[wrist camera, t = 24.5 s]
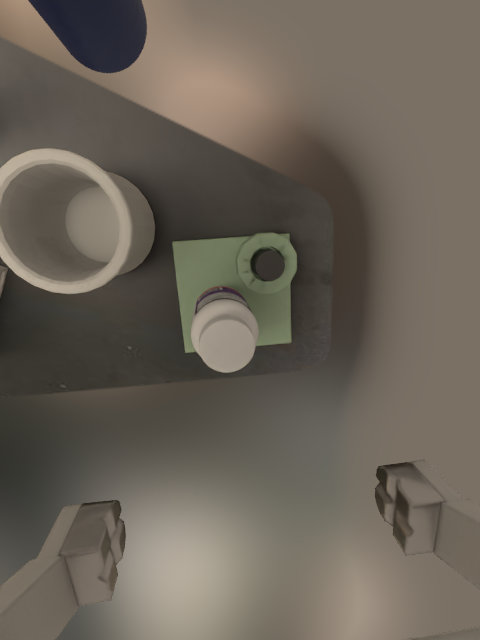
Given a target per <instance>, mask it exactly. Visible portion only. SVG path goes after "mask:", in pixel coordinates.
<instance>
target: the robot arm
mask: <svg viewBox="0 0 480 640" xmlns="http://www.w3.org/2000/svg"><path fill="white" fill-rule="evenodd" d="M376 476H377V478H378V480H379V481H380V483H379V484H378V485H377V486H376V488H375V498H376V503H377V506H378V509H379V512H380V514H381V515H382V517H383V518H384V521H386V522H387V523H389V524H390V525H392V526H393V535H394V537H395V539H396V540H397V542H398V544H399V545H400V547H401V548H402V550H403V552H404V553H405V555H415V554H423V553H432V552H434V554H435V555H436V556H438V557H439V558H440V559H441V560H443V561H444V562H445V563H447V564H448V565H449V566H450V567H452V568H453V569H454V570H455V571H457V572H458V573H459V574H461V575H462V576H463V577H464V578H466V579H467V580H468V581H470V582H471V583H472V584H473V585H475V586H476V587H477V588H479V589H480V504H478V503H476V502H474V501H472V500H470V499H463V498H462V497H461V496H460V495H459V494H458V493H457V492H456V491H455V490H454V489H453V488H452V487H451V486H450V485H449V483H448V482H447V481H446V480H445V479H444V478H443V477H442V476H441V475H440V474H439V473H438V472H437V471H436V470H435V469H434V468H433V467H432V466H431V465H430V464H429V463H428V462H427V461H425V460H419V461H412V462H405V463H398V464H391V465H384V466H379V467H378V469H377V473H376ZM120 513H121V506H120V503H119V501H117V500H112V501H102V502H93V503H84V504H77V505H67V506H65V507H64V508H63V509H62V510H61V512H60V514H59V516H58V518H57V520H56V522H55V524H54V526H53V528H52V530H51V531H50V533H49V535H48V537H47V539H46V541H45V543H44V545H43V547H42V549H41V551H40V553H39V555H38V557H37V559H34V560H30V561H29V562H28V563H27V564H26V565H24V566H23V567H22V568H21V569H20V570H19V571H18V572H17V573H15V574H14V575H13V576H12V577H11V578H10V579H9V580H7V581H6V582H5V583H4V584H3V585H2V586H1V587H0V640H55V639H56V638H57V637H58V635H59V634H60V633H61V631H62V630H63V629H64V627H65V626H66V625H67V623H68V622H69V621H70V619H71V618H72V616H73V615H74V614H75V613H76V611H77V610H78V606H83V605H88V604H93V603H99V602H104V601H110V600H111V599H112V595H113V591H114V587H115V584H116V580H117V576H118V573H117V568H116V565H117V563H118V562H119V561H120V560H121V559H122V556H123V552H124V548H125V538H126V536H125V535H126V534H125V525H124V521H122V520H121V519H120V518H119V516H120ZM405 640H480V626H479V627H474V628H467V629H462V630H456V631H451V632H444V633H439V634H434V635H427V636H422V637H416V638H410V639H405Z"/></svg>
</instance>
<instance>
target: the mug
mask: <svg viewBox="0 0 480 640" xmlns="http://www.w3.org/2000/svg"><path fill="white" fill-rule="evenodd" d="M154 236H155V222H154V217H153V212H152V210H151V208H150V206H149V204H148V201H147V199H146V198H145V197H144V196H143V194H142V193H141V192H140V191H139V189H138V188H137V187H136V186H134V185H133V184H132V183H131V182H129V181H128V180H127V179H125V178H123V177H121V176H119V175H116V174H114V173H111V172H106V171H104V170H102V169H101V168H100V167H99V166H97V165H96V164H95V163H94V162H92V161H91V160H89V159H86V158H84V157H82V156H80V155H78V154H75V153H73V152H70V151H64V150H58V149H53V148H46V149H36V150H29V151H27V152H25V153H22V154H20V155H18V156H15V157H13V158H12V159H10V160H9V161H8V162H7V163H6V164H5V165H4V166H2V167H1V168H0V257H1V258H2V260H3V261H4V262H5V263H6V264H7V265H8V266H9V267H10V268H11V269H12V270H13V271H14V272H15V273H16V274H17V275H18V276H20V277H21V278H23V279H24V280H26V281H27V282H29V283H30V284H32V285H34V286H36V287H39V288H42V289H45V290H47V291H50V292H55V293H64V294H76V293H84V292H89V291H91V290H94V289H96V288H99V287H101V286H103V285H105V284H106V283H107V282H109V281H110V280H111V279H113V278H114V277H115V276H117V275H122V274H124V273H127V272H129V271H131V270H133V269H135V268H136V267H137V266H138V265H140V264H141V263H142V262H143V261H144V260H145V258H146V257H147V255H148V254H149V253H150V250H151V248H152V245H153V242H154Z"/></svg>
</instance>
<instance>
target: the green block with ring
mask: <svg viewBox="0 0 480 640" xmlns="http://www.w3.org/2000/svg"><path fill="white" fill-rule="evenodd" d="M172 247H173V255H174V263H175V272H176V280H177V288H178V297H179V305H180V313H181V321H182V330H183V338H184V346H185V353H188V352H197V351H196V350H195V348H194V346H193V344H192V340H191V325H192V318H193V311H194V306H195V303H196V301H197V299H198V298H199V296H200V295H201V294H202V293H203V292H204V291H206V290H207V289H209V288H212V287H215V286H227V287H231V288H233V289H235V290H237V291H238V292H239V293H240V294H241V295H242V296H243V297H244V299H245V300H246V302H247V304H248V306H249V308H250V309H251V311H252V313H253V315H254V316H255V319H256V321H257V324H258V330H259V333H258V340H257V343H256V346H262V345H272V344H283V343H291V294H290V282H291V280H292V278H293V276H294V275H295V273H296V270H297V254H296V252H295V250H294V248H293V247H292V245H291V243H290V238H289V234H276V233H272V232H268V233H256V234H254V235H253V236H242V237H227V238H213V239H198V240H184V241H173V242H172ZM262 250H272V251H275V252H277V253H279V254H280V255H281V256H282V257H283V259H284V262H285V269H284V272H283V274H282V275H281V276H280V277H279V278H278V279H276V280H273V281H266V280H263V279H262V278H260V277H259V276H258V275H257V274H256V272H255V271H254V268H253V260H254V258H255V256H256V255H257V254H258V253H259V252H260V251H262Z"/></svg>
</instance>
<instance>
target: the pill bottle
mask: <svg viewBox="0 0 480 640" xmlns="http://www.w3.org/2000/svg"><path fill="white" fill-rule="evenodd" d="M258 333H259V330H258V324H257V321H256V319H255V316H254V315H253V313H252V311H251V309H250V308H249V306H248V304H247V302H246V300H245V299H244V297H243V296H242V295H241V294H240V293H239V292H238V291H237V290H235V289H233V288H231V287H227V286H215V287H212V288H209V289H207V290H206V291H204V292H203V293H202V294H201V295H200V296H199V298H198V299H197V301H196V303H195V306H194V311H193V318H192V325H191V340H192V344H193V346H194V348H195V350H196V351H197V353H198V354H199V355H200V356H201V357H202V359H203V361H204V362H205V363H206V364H207V365H208V366H209V367H210V368H212V369H214V370H216V371H219V372H234V371H237V370H239V369H241V368H243V367H244V366H246V365H247V364H248V363H249V361H250V360H251V358H252V357H253V354H254V351H255V346H256V343H257V340H258Z"/></svg>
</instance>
